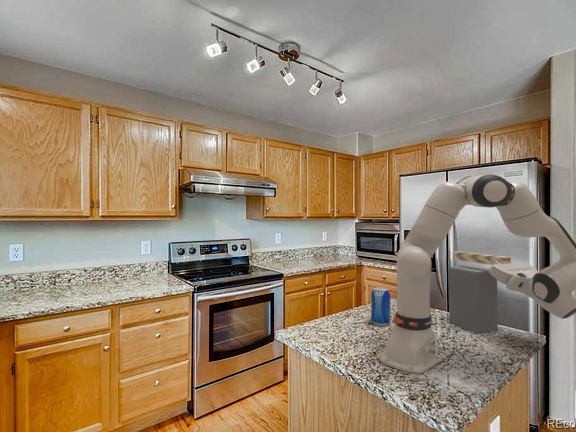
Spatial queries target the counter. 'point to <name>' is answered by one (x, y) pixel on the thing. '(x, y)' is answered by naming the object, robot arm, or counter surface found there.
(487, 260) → the maple bar
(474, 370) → the counter surface
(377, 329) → the counter surface
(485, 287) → the charcoal stand
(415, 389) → the counter surface
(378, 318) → the beer can
